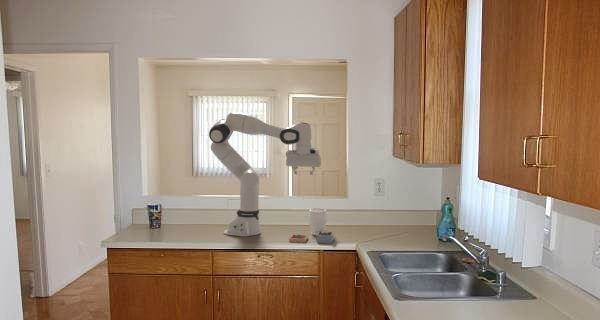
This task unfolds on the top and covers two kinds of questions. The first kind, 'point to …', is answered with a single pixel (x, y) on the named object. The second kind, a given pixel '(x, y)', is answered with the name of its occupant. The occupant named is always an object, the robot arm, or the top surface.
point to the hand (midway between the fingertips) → (303, 174)
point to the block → (324, 233)
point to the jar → (317, 220)
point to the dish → (294, 239)
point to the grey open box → (325, 238)
